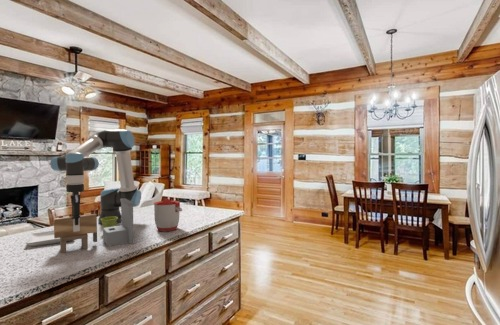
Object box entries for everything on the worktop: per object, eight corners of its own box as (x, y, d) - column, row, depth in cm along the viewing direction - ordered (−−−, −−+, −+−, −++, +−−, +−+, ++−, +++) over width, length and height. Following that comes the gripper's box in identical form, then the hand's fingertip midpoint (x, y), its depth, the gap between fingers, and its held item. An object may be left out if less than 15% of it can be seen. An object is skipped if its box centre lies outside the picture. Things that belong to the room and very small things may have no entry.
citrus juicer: (176, 233, 167) (175, 199, 166) (149, 232, 170) (148, 199, 169) (186, 226, 182) (186, 196, 182) (161, 225, 185) (161, 195, 185)
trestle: (60, 248, 140) (60, 234, 139) (85, 244, 146) (85, 231, 146) (61, 253, 133) (61, 238, 133) (87, 248, 140) (87, 234, 140)
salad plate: (25, 249, 140) (25, 242, 140) (31, 238, 158) (31, 232, 158) (75, 242, 152) (75, 236, 151) (75, 233, 170) (75, 227, 169)
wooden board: (54, 247, 136) (53, 218, 136) (96, 240, 147) (95, 213, 147) (54, 248, 134) (54, 219, 133) (97, 241, 144) (96, 214, 144)
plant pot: (121, 231, 172) (121, 217, 171) (108, 235, 163) (107, 220, 163) (110, 229, 176) (110, 216, 175) (97, 233, 167) (96, 219, 167)
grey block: (102, 239, 156) (101, 200, 155) (125, 235, 163) (125, 198, 163) (108, 248, 141) (108, 205, 140) (134, 243, 148) (133, 202, 147)
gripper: (65, 183, 144) (66, 228, 144) (67, 185, 131) (68, 235, 131) (82, 182, 148) (82, 226, 149) (86, 184, 135) (86, 232, 136)
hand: (76, 230), depth 140 cm, fingers closed on wooden board, 3 cm apart
